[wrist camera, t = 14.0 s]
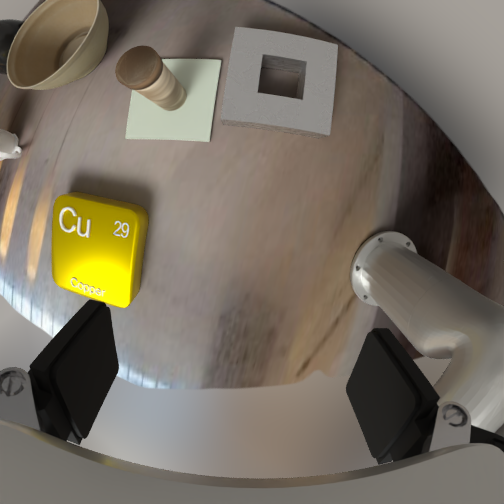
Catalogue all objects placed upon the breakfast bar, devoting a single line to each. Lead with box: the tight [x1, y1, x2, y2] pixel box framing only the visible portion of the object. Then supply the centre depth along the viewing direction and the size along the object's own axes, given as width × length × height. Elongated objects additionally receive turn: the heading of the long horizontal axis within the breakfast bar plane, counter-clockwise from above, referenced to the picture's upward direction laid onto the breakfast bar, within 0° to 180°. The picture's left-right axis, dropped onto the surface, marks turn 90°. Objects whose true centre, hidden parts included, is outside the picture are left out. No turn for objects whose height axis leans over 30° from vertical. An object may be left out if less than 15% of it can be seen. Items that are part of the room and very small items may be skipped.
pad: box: [125, 59, 222, 142], centre depth 32 cm, size 12×12×1 cm
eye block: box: [221, 27, 338, 139], centre depth 30 cm, size 13×13×5 cm
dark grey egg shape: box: [0, 19, 24, 74], centre depth 19 cm, size 10×10×15 cm
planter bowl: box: [7, 0, 109, 90], centre depth 23 cm, size 16×16×11 cm
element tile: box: [52, 192, 149, 308], centre depth 37 cm, size 15×15×5 cm
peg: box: [115, 46, 187, 111], centre depth 25 cm, size 4×4×14 cm
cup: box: [0, 129, 22, 161], centre depth 28 cm, size 7×10×8 cm
